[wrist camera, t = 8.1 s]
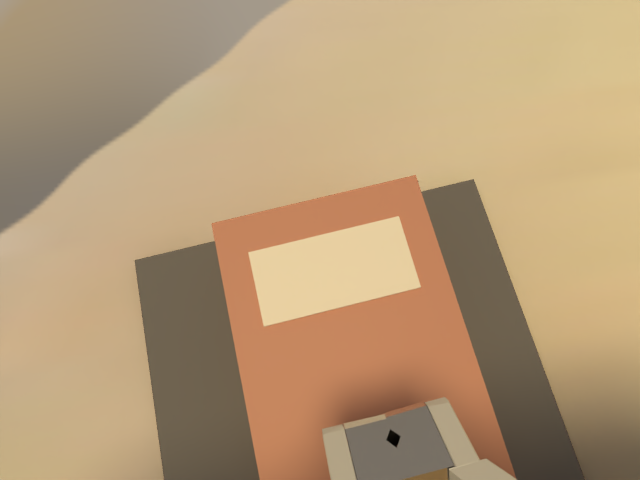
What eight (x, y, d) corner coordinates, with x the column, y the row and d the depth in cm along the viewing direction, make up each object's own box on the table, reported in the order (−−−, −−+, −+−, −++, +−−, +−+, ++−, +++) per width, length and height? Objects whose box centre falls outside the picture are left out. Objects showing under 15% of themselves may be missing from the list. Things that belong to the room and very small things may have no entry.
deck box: (525, 500, 12) (416, 173, 14) (275, 570, 12) (210, 221, 14) (485, 471, 15) (400, 205, 18) (286, 526, 15) (231, 246, 17)
